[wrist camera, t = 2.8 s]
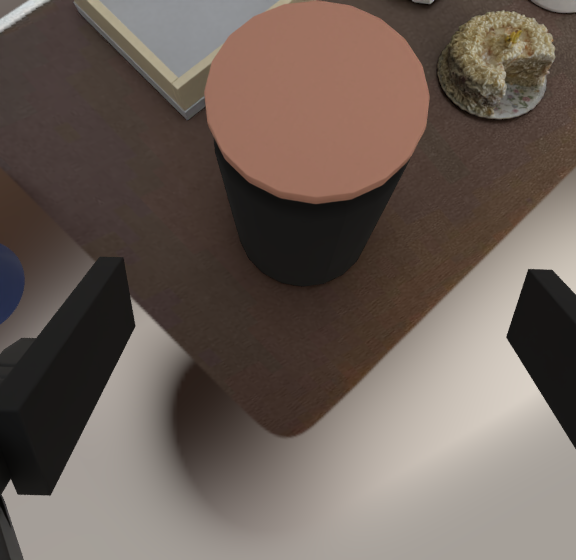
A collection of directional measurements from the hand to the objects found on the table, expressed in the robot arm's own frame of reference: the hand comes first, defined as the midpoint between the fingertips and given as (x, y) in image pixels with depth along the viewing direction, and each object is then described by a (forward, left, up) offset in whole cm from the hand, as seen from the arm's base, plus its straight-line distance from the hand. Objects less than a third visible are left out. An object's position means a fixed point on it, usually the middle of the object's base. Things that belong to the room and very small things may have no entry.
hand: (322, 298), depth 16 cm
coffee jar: (-2, +11, -22) cm, 25 cm away
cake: (+12, +29, -22) cm, 38 cm away
